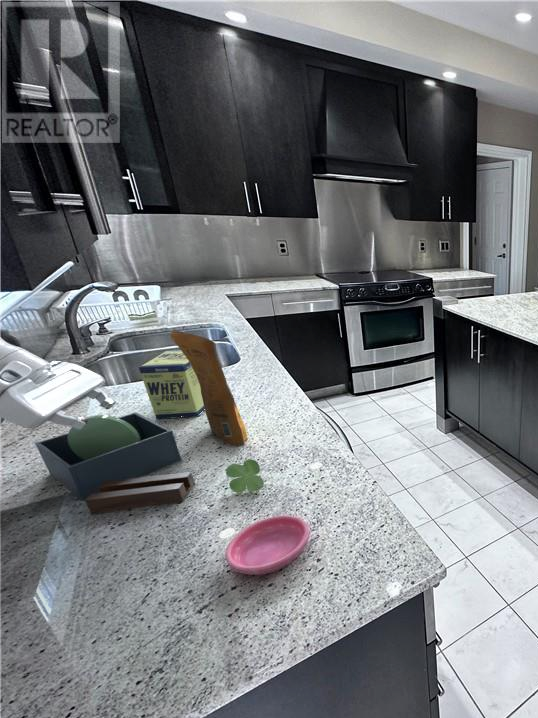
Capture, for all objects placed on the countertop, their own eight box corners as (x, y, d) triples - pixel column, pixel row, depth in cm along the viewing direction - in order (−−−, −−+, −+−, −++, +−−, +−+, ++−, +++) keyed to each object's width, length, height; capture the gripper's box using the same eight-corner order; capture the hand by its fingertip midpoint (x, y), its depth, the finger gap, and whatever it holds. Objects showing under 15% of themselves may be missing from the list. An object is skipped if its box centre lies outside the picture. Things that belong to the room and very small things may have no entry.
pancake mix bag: (227, 454, 97) (196, 343, 86) (197, 429, 108) (166, 327, 97) (257, 443, 102) (231, 336, 92) (225, 420, 113) (199, 322, 102)
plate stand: (183, 502, 81) (178, 488, 80) (90, 514, 77) (84, 500, 76) (195, 484, 87) (191, 471, 85) (109, 494, 82) (103, 481, 81)
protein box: (155, 419, 111) (137, 367, 105) (183, 396, 125) (168, 348, 119) (198, 417, 114) (183, 365, 108) (221, 394, 128) (208, 347, 122)
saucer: (305, 574, 66) (302, 560, 65) (218, 590, 63) (213, 575, 62) (316, 522, 77) (313, 509, 76) (242, 534, 74) (238, 520, 73)
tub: (83, 500, 81) (67, 468, 78) (49, 474, 88) (34, 443, 85) (181, 459, 95) (172, 430, 92) (146, 439, 102) (136, 412, 99)
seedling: (258, 499, 90) (247, 502, 84) (227, 477, 89) (215, 479, 83) (282, 472, 92) (273, 474, 86) (252, 451, 92) (242, 451, 85)
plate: (147, 459, 92) (123, 412, 87) (84, 470, 89) (55, 423, 84) (150, 456, 93) (126, 410, 88) (87, 467, 90) (59, 420, 85)
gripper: (49, 368, 89) (118, 405, 96) (-36, 408, 71) (56, 450, 78) (67, 348, 89) (135, 386, 95) (-14, 383, 71) (77, 427, 77)
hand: (99, 415), depth 86 cm, fingers open, 8 cm apart
